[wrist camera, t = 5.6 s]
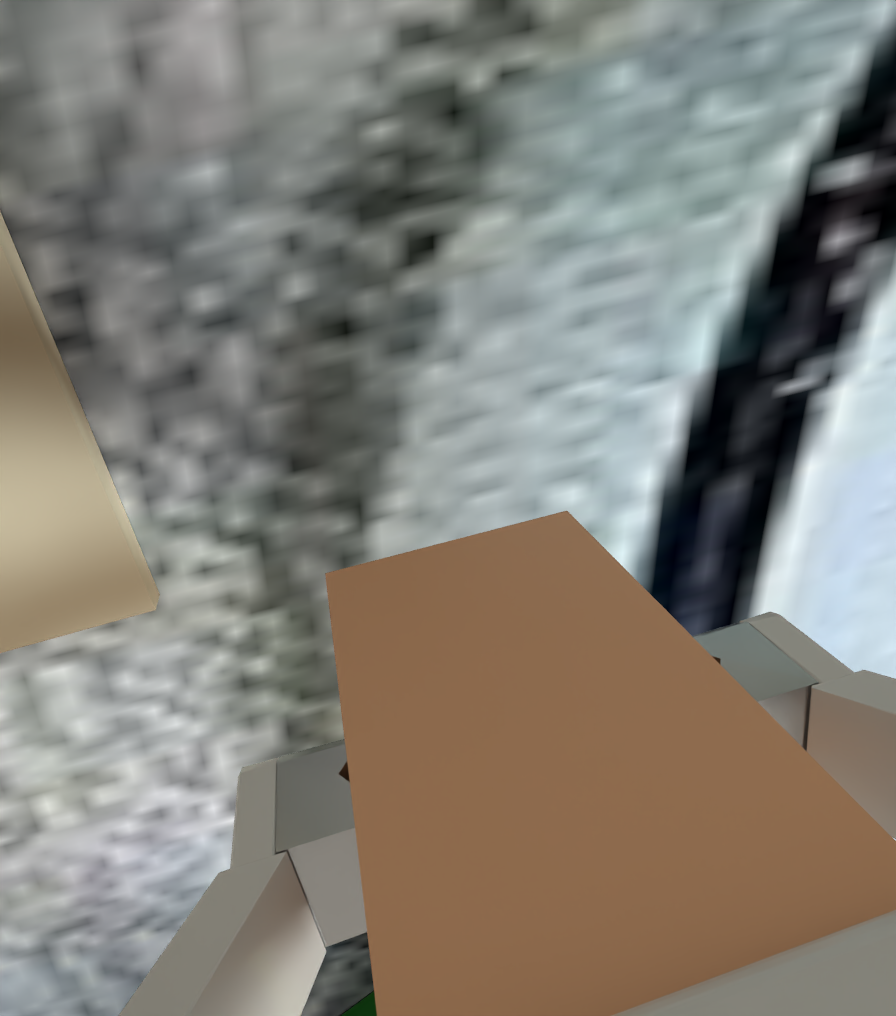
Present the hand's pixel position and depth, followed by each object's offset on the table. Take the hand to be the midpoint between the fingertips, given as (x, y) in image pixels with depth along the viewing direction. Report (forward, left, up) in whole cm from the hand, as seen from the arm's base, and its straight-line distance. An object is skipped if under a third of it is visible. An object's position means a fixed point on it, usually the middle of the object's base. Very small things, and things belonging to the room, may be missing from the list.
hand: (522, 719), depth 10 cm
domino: (0, 0, -4) cm, 4 cm away
